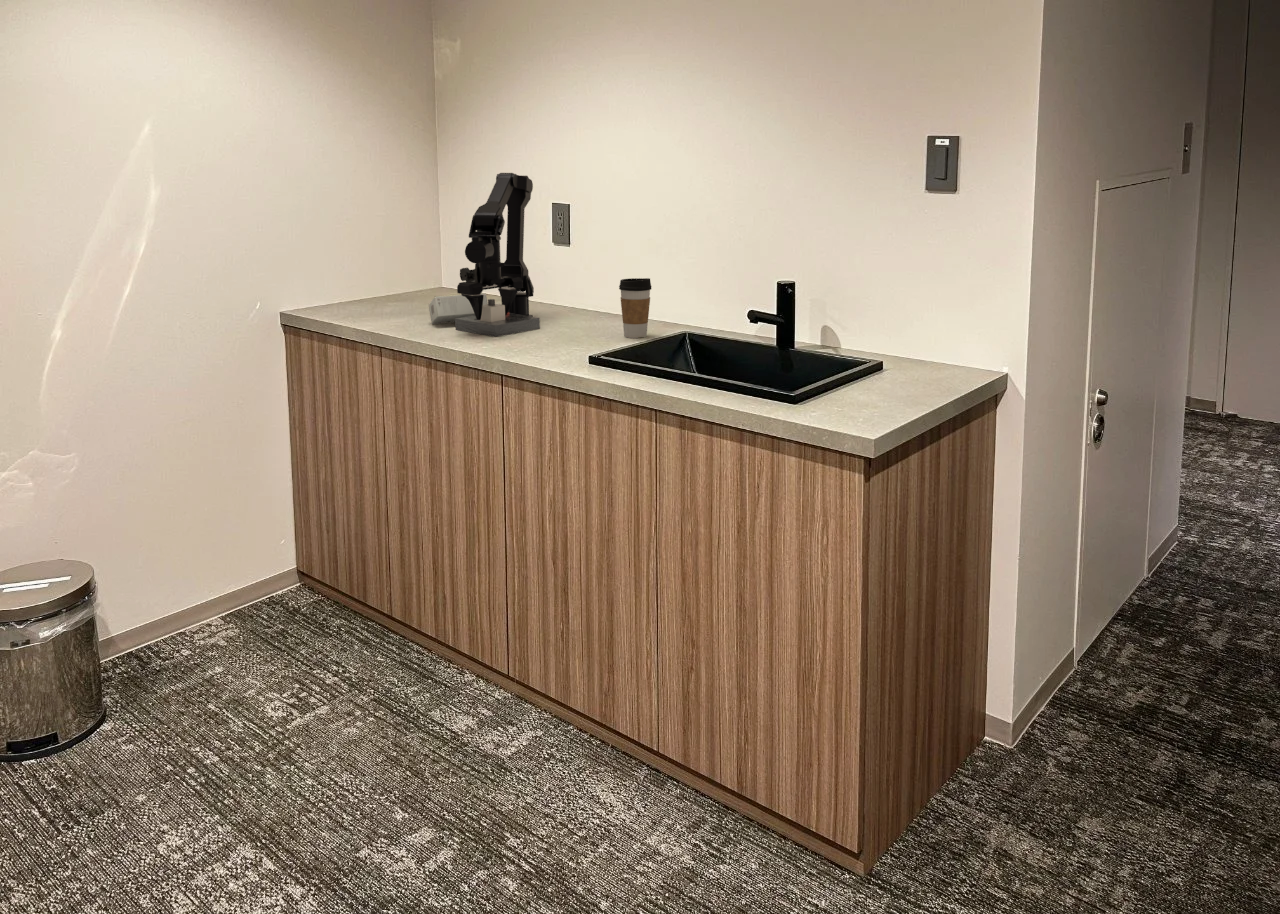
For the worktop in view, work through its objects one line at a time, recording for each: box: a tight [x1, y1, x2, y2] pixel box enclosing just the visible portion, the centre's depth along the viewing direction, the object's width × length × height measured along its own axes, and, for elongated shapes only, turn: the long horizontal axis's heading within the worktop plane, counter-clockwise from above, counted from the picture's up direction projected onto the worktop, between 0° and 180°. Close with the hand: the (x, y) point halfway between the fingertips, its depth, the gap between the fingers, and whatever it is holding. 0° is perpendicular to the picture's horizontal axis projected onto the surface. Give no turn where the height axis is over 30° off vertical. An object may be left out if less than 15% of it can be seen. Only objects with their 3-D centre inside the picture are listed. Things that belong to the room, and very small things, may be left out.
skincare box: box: [428, 292, 488, 325], centre depth 321 cm, size 8×6×15 cm
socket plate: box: [454, 312, 541, 338], centre depth 313 cm, size 16×16×4 cm
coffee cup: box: [618, 277, 652, 339], centre depth 301 cm, size 8×8×15 cm
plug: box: [480, 298, 505, 322], centre depth 311 cm, size 5×5×8 cm
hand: (491, 317), depth 311 cm, fingers open, 9 cm apart
